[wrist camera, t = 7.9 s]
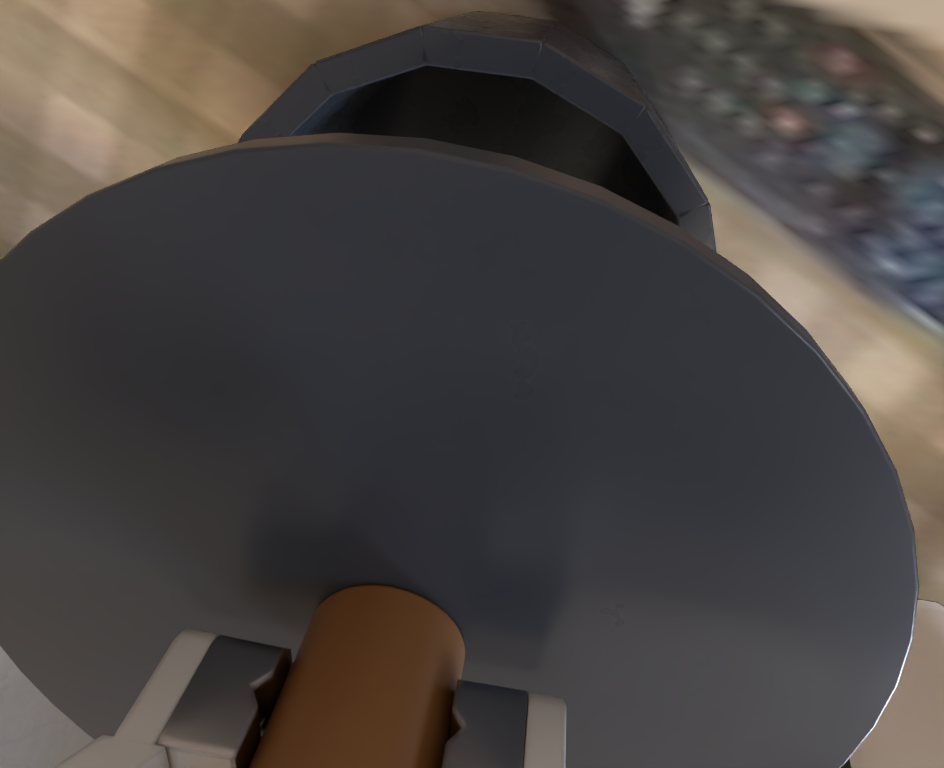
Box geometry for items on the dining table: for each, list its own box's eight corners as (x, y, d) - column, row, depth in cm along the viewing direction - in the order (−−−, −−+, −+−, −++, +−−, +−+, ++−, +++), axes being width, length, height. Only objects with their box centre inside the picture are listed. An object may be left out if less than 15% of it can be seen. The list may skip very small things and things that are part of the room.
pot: (721, 40, 23) (798, 72, 14) (630, 388, 30) (648, 541, 22) (321, -9, 24) (184, -5, 15) (325, 340, 31) (232, 469, 22)
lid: (1113, 216, 7) (1948, 587, 3) (719, 875, 15) (778, 1259, 10) (-157, 48, 8) (-1022, 124, 4) (80, 746, 16) (-116, 1045, 11)
